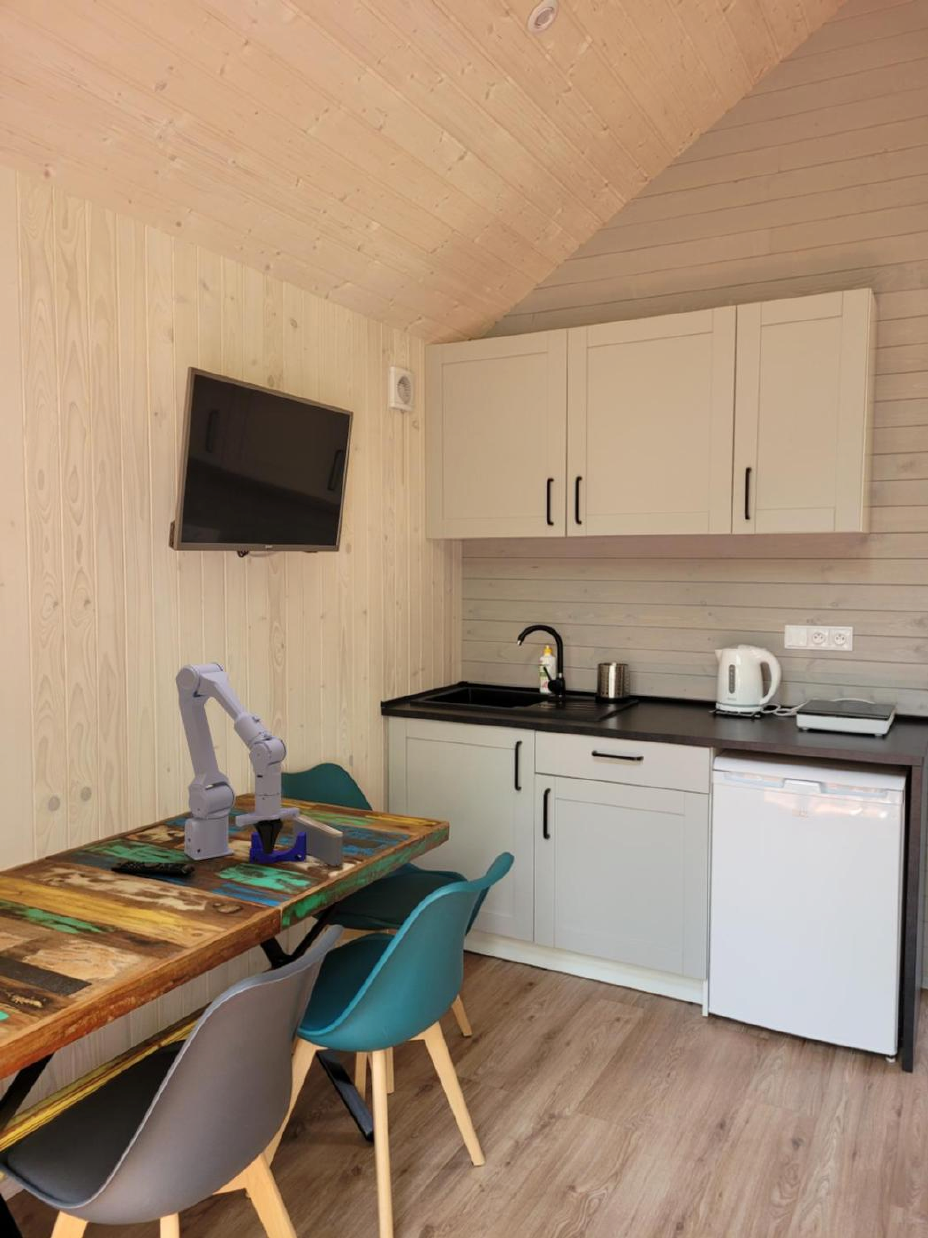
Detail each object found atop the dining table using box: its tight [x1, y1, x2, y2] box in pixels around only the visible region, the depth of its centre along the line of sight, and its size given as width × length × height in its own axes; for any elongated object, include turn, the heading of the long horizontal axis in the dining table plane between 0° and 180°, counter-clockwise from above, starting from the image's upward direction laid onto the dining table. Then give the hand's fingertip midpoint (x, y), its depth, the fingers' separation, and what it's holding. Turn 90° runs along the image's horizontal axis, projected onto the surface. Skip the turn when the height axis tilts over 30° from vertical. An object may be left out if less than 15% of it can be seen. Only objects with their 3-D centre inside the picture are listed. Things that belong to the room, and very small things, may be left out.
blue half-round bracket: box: [248, 830, 307, 864], centre depth 213 cm, size 12×4×6 cm, turn 87°
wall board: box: [292, 813, 344, 867], centre depth 217 cm, size 2×20×7 cm, turn 36°
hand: (268, 853), depth 210 cm, fingers closed
